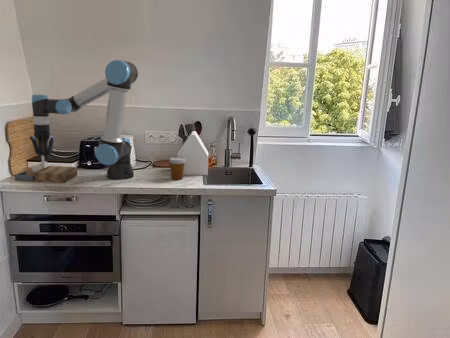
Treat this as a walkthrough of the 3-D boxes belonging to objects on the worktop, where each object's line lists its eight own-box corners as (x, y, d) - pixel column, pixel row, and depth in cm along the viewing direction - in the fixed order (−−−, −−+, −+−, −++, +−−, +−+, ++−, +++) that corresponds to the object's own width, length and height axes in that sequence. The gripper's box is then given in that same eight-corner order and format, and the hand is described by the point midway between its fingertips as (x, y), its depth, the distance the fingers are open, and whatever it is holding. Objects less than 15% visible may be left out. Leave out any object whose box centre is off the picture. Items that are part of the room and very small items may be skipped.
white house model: (207, 169, 232) (209, 131, 226) (207, 175, 217) (209, 135, 211) (178, 168, 231) (179, 130, 225) (176, 174, 216) (177, 133, 210)
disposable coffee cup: (176, 181, 199) (176, 161, 196) (165, 178, 205) (165, 158, 202) (188, 179, 206) (189, 159, 203) (178, 175, 212) (178, 156, 209)
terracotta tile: (34, 165, 196) (30, 168, 196) (29, 167, 191) (24, 170, 191) (40, 172, 197) (36, 175, 197) (35, 174, 192) (31, 177, 192)
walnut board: (77, 175, 202) (77, 167, 201) (64, 183, 187) (63, 173, 186) (49, 174, 203) (49, 165, 202) (34, 181, 187) (33, 172, 186)
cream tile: (46, 167, 196) (43, 162, 195) (41, 169, 191) (38, 164, 190) (38, 170, 197) (35, 165, 196) (33, 172, 192) (30, 167, 191)
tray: (49, 174, 203) (48, 169, 202) (33, 181, 187) (33, 176, 186) (31, 173, 203) (31, 168, 202) (15, 180, 187) (14, 175, 187)
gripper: (57, 123, 192) (59, 166, 197) (33, 122, 192) (36, 164, 197) (50, 125, 184) (53, 169, 190) (25, 124, 184) (29, 167, 190)
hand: (44, 166), depth 193 cm, fingers closed
